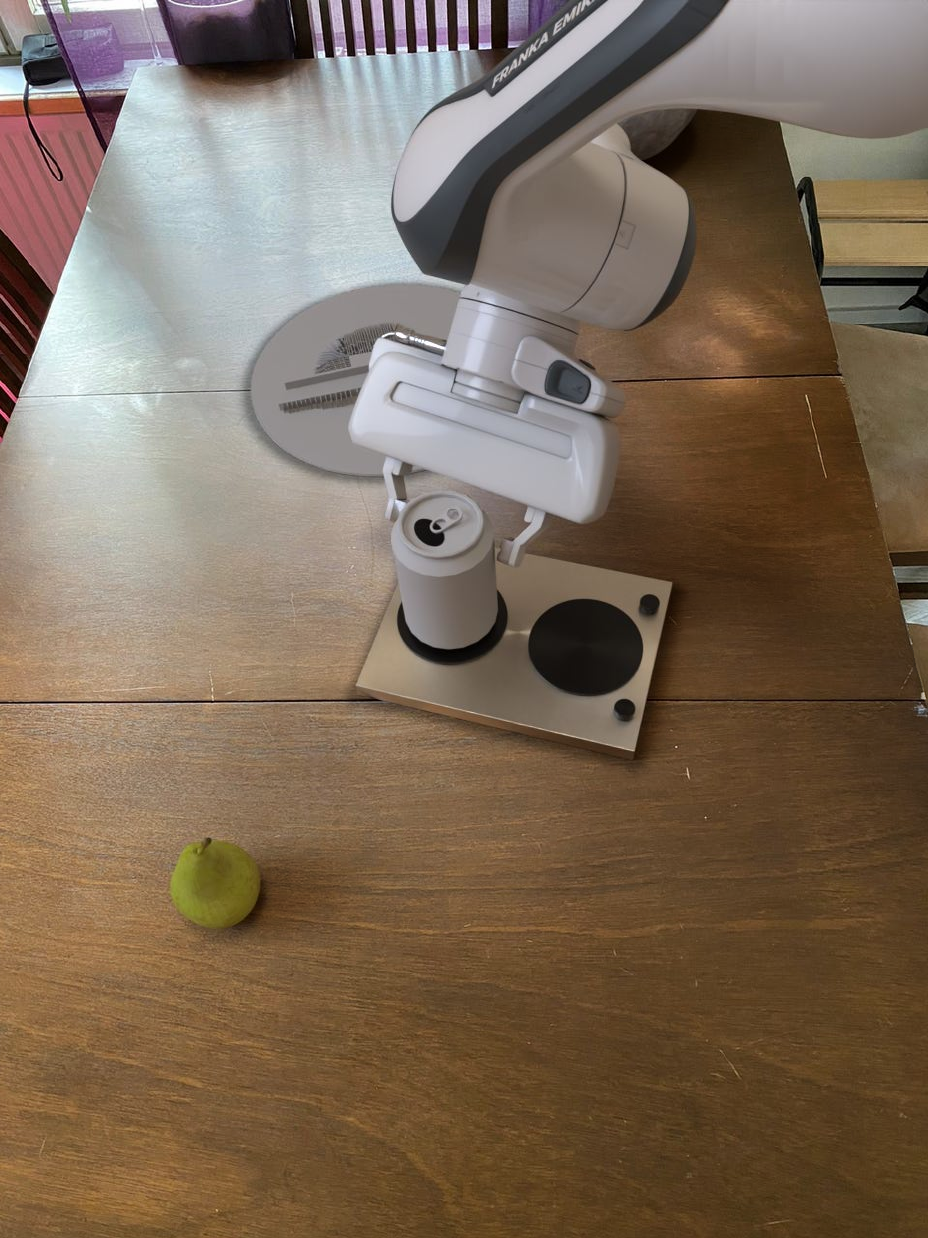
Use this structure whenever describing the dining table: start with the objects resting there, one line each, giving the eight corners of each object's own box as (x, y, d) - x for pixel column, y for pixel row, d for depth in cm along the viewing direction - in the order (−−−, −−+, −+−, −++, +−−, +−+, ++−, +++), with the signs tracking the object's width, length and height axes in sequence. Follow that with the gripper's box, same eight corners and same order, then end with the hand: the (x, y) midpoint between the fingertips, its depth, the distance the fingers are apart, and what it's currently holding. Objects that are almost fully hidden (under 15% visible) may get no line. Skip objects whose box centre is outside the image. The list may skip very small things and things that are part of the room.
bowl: (704, 104, 123) (716, 19, 115) (686, 206, 111) (698, 120, 103) (526, 93, 127) (526, 10, 119) (490, 191, 115) (487, 106, 107)
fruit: (178, 882, 69) (118, 814, 59) (256, 848, 70) (210, 776, 60) (199, 957, 66) (140, 899, 56) (281, 920, 67) (237, 857, 57)
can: (388, 607, 79) (368, 511, 69) (464, 565, 81) (455, 465, 71) (437, 671, 75) (423, 579, 66) (516, 624, 77) (514, 528, 68)
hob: (670, 592, 81) (674, 576, 79) (632, 760, 72) (635, 746, 70) (420, 542, 85) (418, 525, 83) (357, 695, 77) (353, 680, 75)
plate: (264, 501, 89) (261, 492, 88) (241, 312, 105) (238, 303, 104) (559, 444, 91) (559, 435, 90) (493, 267, 107) (492, 257, 106)
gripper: (361, 313, 69) (313, 499, 72) (629, 394, 63) (563, 593, 66) (399, 327, 75) (353, 498, 78) (648, 402, 69) (586, 585, 72)
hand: (451, 542), depth 72 cm, fingers open, 8 cm apart
